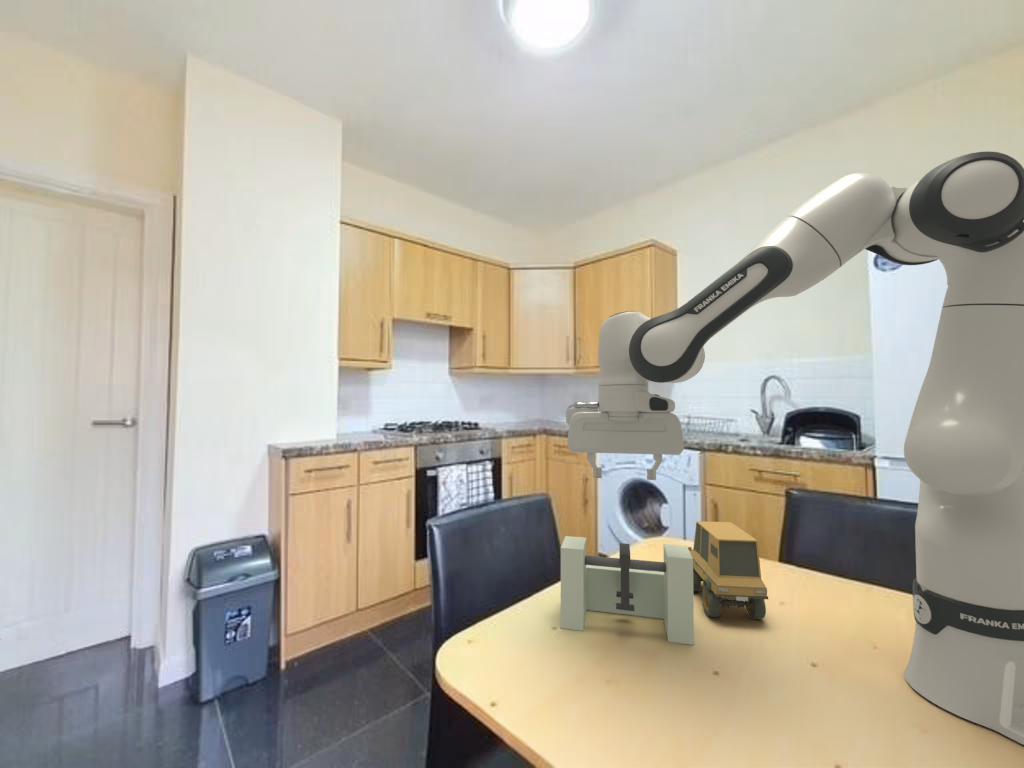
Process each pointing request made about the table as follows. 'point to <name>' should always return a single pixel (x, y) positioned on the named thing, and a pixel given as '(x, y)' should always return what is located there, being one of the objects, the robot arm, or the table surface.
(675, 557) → the lever switch frame
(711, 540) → the toy car
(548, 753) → the table surface
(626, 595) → the dark grey flanged post
